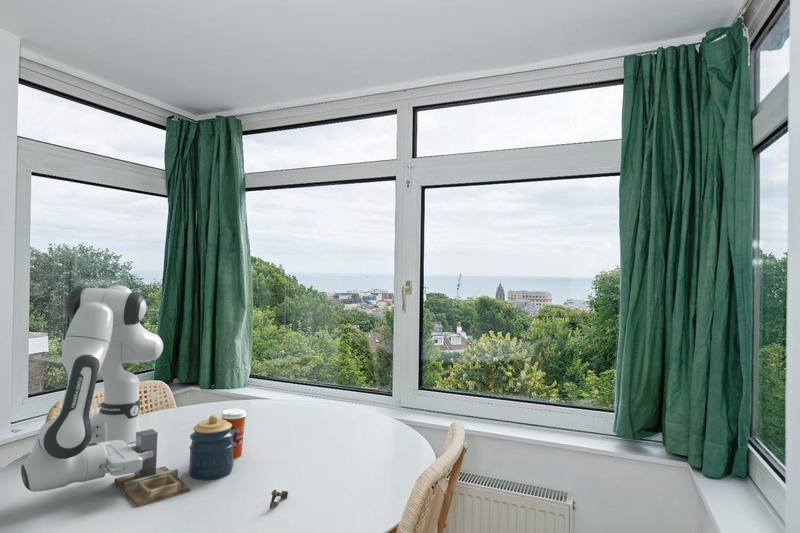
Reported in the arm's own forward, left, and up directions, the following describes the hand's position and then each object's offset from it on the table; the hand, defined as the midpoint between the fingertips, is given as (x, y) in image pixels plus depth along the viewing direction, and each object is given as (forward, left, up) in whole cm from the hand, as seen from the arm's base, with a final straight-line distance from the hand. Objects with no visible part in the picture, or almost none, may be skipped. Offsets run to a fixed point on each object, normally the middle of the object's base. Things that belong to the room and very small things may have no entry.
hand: (149, 450), depth 142 cm
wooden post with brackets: (+44, -1, -9) cm, 45 cm away
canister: (+14, +10, -9) cm, 20 cm away
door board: (+5, -4, -9) cm, 10 cm away
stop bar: (0, -1, -8) cm, 8 cm away
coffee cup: (+12, +24, -9) cm, 29 cm away
